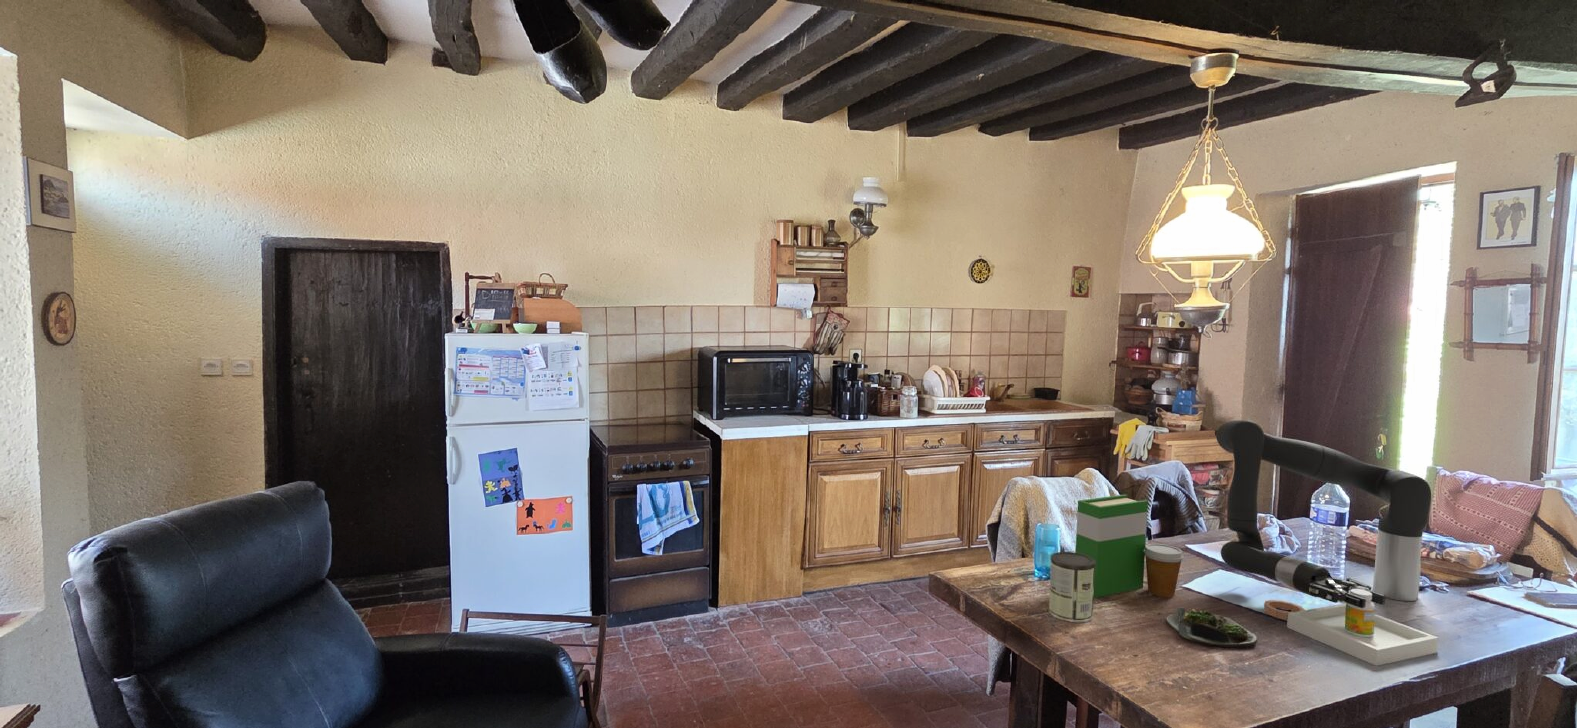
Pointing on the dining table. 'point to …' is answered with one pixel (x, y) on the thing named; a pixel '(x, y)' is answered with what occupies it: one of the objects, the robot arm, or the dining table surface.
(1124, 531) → the hardback book
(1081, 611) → the coffee can
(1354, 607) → the supplement bottle
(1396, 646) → the tray
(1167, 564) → the disposable coffee cup
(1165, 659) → the dining table surface
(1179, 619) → the salad plate
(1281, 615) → the cup holder
